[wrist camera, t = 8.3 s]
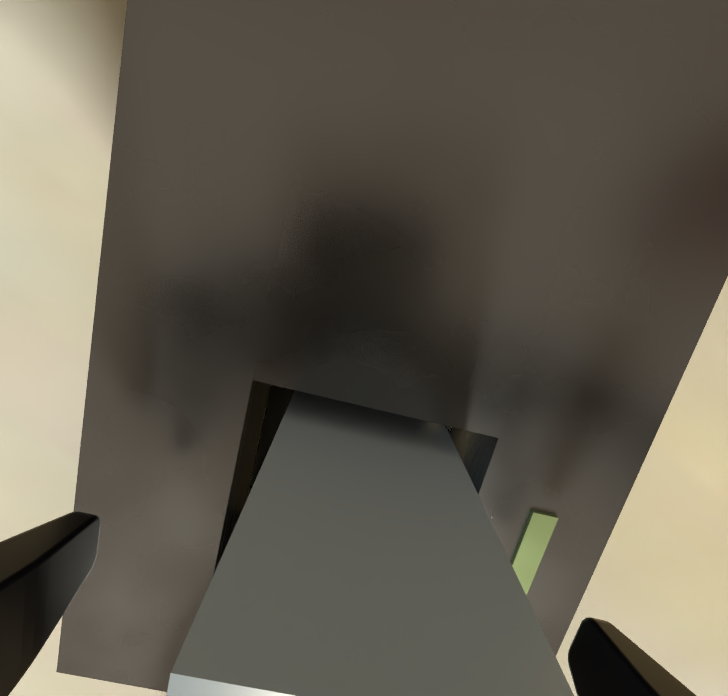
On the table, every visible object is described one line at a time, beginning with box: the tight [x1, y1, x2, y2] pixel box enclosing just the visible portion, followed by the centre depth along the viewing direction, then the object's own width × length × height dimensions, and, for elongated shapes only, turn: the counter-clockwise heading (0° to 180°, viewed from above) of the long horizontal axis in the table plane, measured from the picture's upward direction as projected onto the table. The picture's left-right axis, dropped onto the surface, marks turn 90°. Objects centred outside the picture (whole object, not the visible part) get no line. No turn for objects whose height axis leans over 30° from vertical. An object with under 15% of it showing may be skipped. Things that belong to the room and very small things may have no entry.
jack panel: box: [57, 0, 728, 692], centre depth 9 cm, size 12×26×3 cm, turn 166°
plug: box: [167, 390, 574, 696], centre depth 8 cm, size 4×4×9 cm
